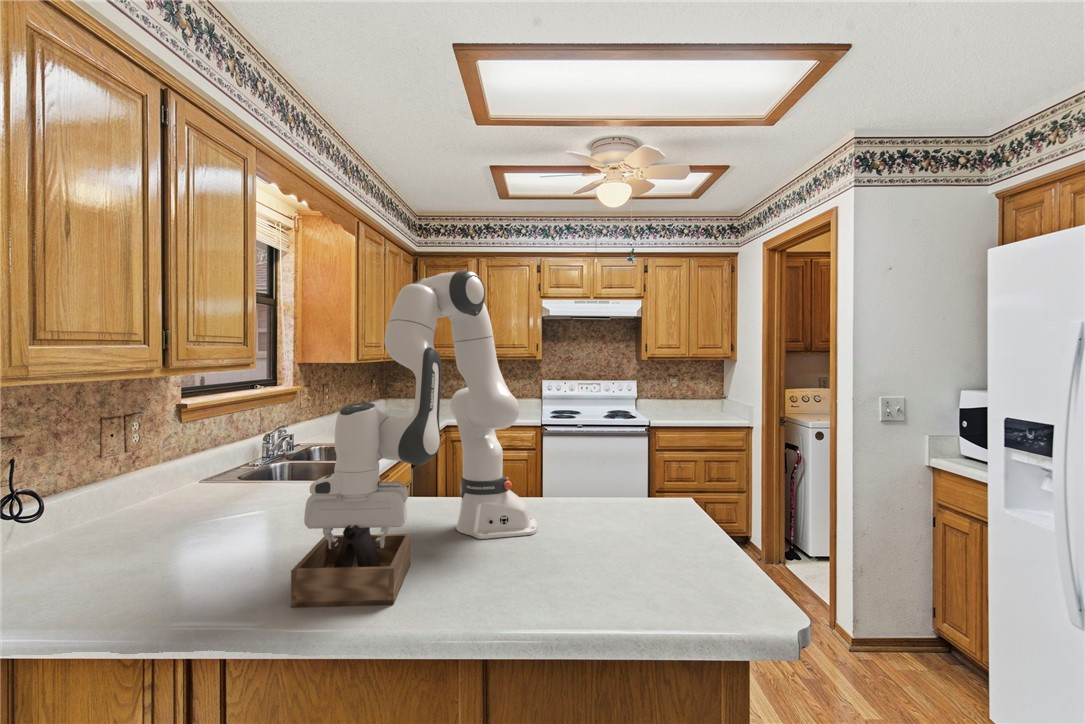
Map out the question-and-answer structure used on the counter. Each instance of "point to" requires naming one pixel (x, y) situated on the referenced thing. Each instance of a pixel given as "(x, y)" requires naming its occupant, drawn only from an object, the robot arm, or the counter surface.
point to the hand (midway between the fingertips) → (356, 547)
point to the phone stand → (357, 548)
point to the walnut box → (350, 575)
